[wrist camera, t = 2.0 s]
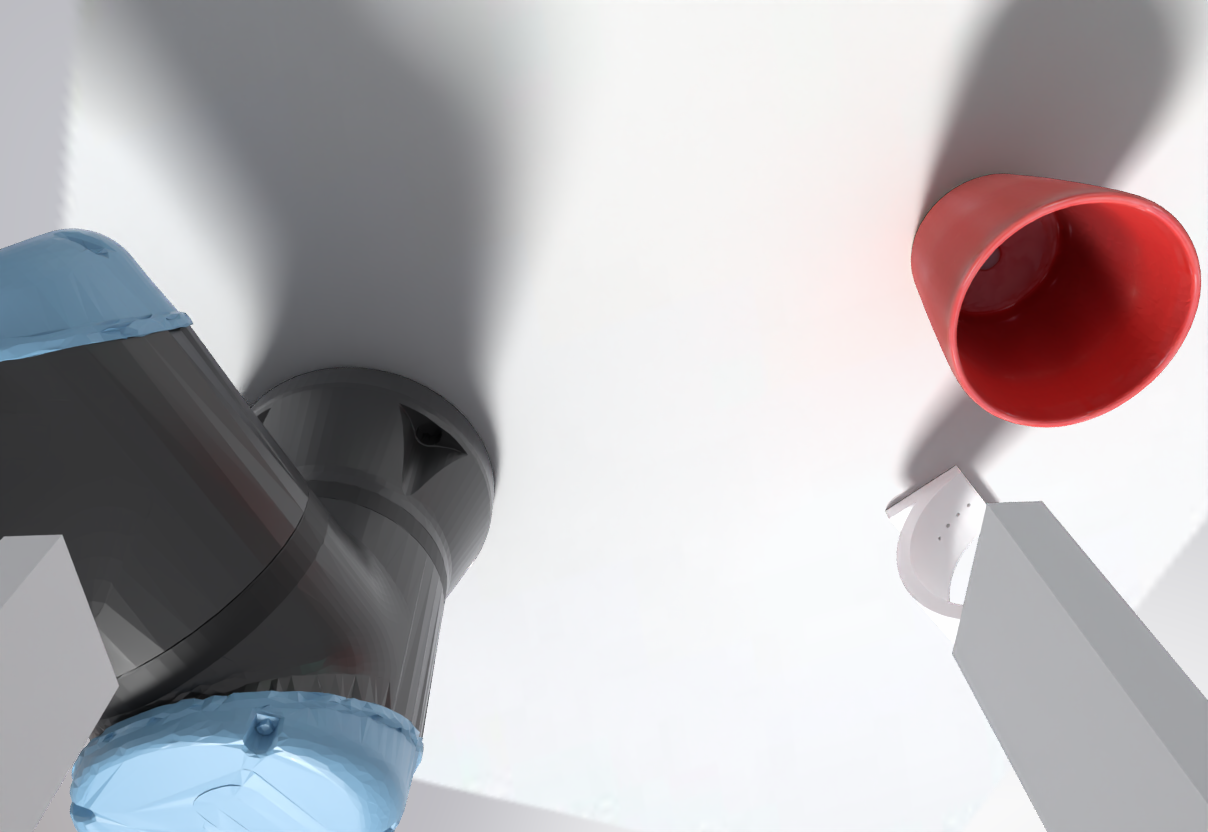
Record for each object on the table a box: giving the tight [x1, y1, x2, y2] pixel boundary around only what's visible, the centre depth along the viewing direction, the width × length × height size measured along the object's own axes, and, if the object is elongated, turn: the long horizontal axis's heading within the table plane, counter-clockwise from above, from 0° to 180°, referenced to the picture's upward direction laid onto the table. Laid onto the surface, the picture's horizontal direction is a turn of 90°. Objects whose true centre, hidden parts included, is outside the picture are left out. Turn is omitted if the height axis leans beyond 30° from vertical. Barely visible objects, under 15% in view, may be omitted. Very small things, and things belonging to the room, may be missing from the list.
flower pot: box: [911, 174, 1201, 427], centre depth 42 cm, size 11×11×10 cm
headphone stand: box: [885, 465, 987, 644], centre depth 49 cm, size 5×6×12 cm
